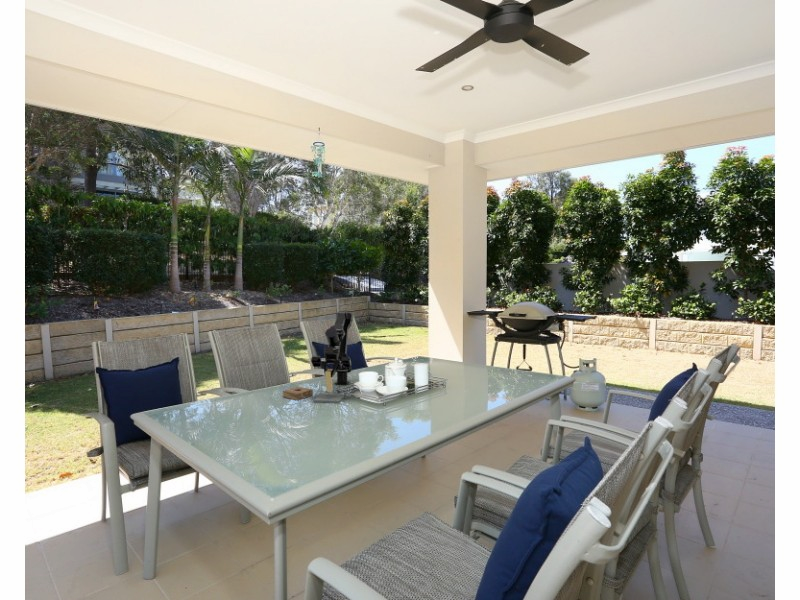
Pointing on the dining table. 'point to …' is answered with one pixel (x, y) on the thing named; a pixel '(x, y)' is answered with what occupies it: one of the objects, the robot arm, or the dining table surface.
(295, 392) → the slot block
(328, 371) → the t key
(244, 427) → the dining table surface
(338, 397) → the mat
